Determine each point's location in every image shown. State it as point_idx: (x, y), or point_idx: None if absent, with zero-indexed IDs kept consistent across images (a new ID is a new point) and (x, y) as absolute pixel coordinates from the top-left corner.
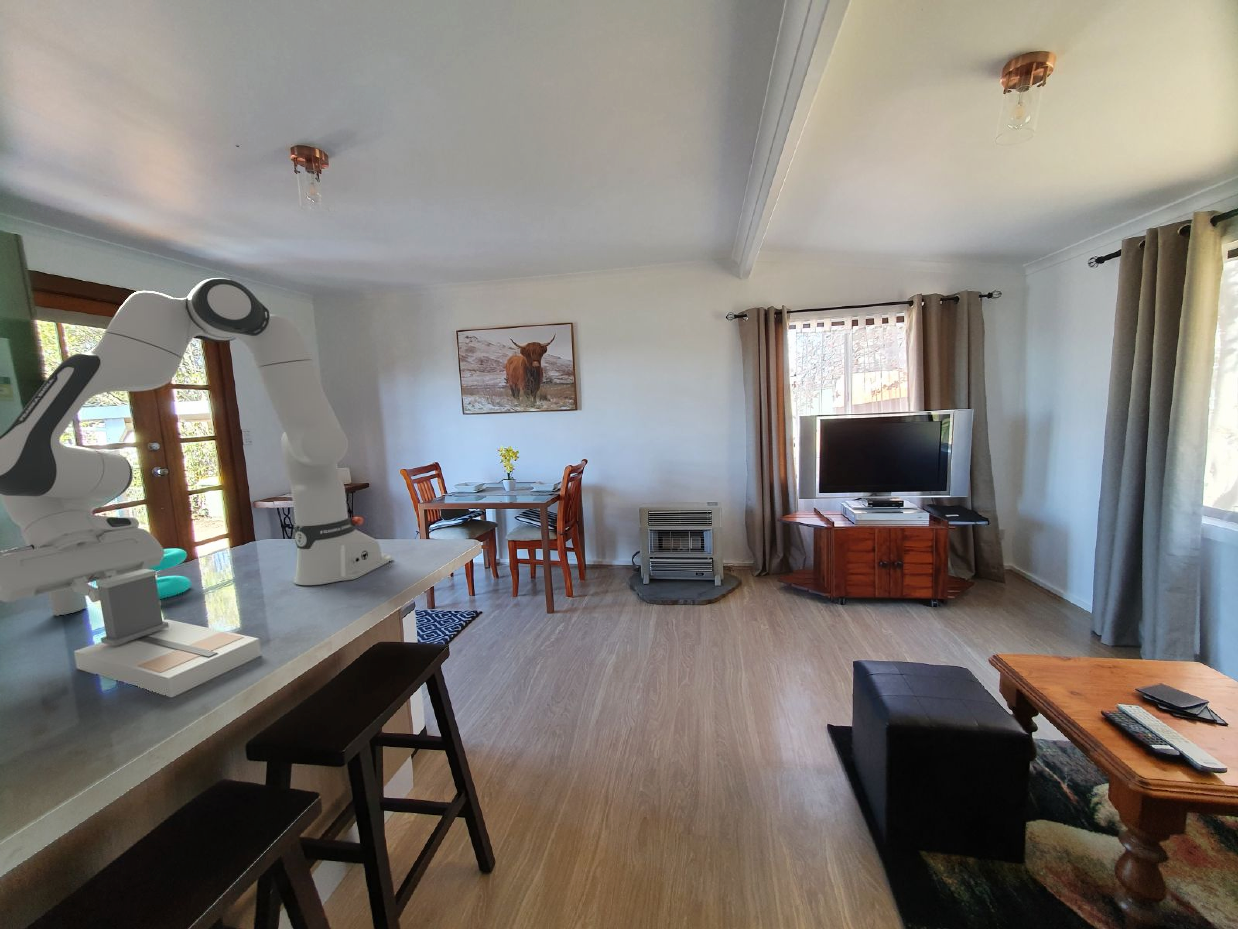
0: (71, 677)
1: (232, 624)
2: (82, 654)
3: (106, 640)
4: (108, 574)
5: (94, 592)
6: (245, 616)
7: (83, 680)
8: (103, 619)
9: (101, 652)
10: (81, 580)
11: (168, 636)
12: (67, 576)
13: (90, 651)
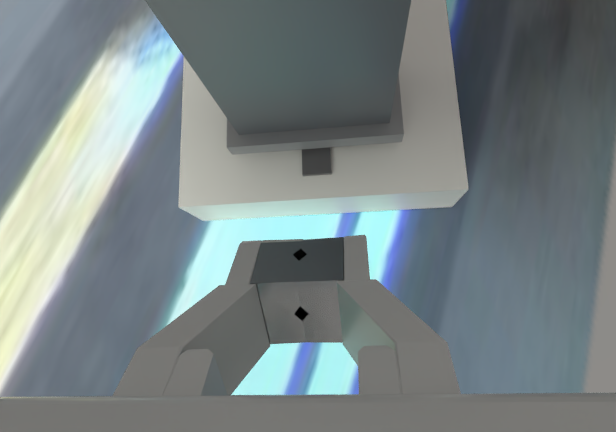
0: (480, 146)
1: (94, 100)
2: (460, 129)
3: (399, 95)
4: (189, 367)
5: (357, 254)
6: (37, 131)
7: (470, 85)
8: (396, 80)
9: (426, 70)
10: (405, 368)
11: None
12: (547, 400)
13: (440, 122)
